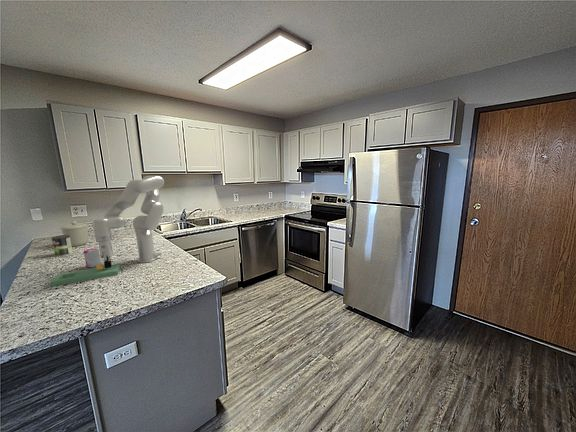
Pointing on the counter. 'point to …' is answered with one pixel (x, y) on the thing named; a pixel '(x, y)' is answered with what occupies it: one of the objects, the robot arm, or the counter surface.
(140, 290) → the counter surface
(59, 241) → the coffee can
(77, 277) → the green
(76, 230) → the canister
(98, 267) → the ball
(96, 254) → the supplement box
